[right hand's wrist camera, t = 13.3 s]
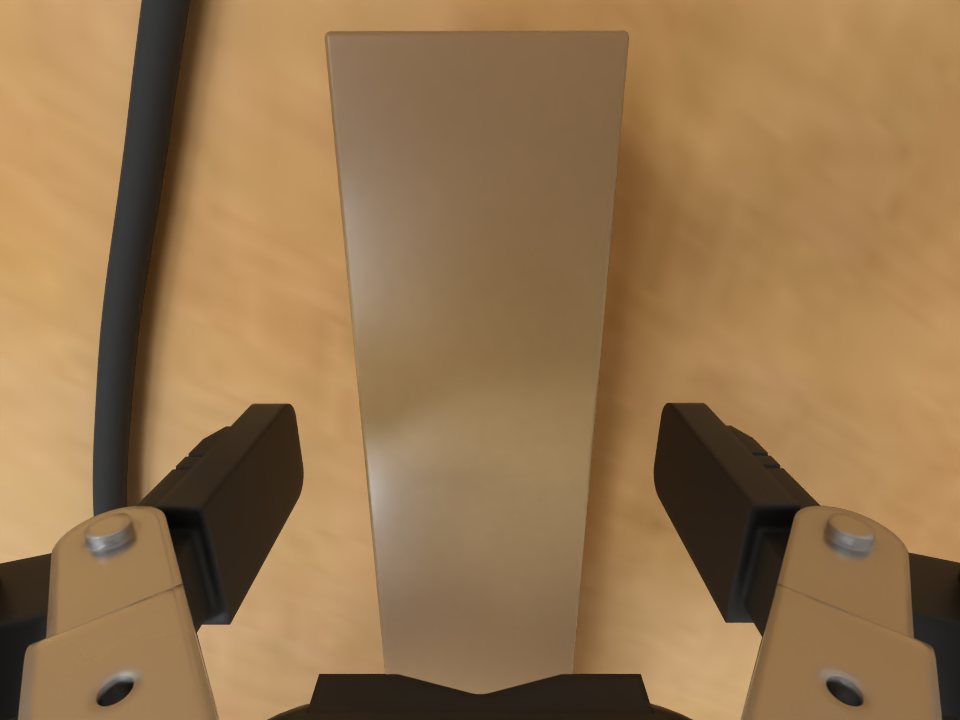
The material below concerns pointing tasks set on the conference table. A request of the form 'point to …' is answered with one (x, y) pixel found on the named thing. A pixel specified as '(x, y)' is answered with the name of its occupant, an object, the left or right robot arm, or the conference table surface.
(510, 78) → the beam
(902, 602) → the right robot arm
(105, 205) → the conference table surface
